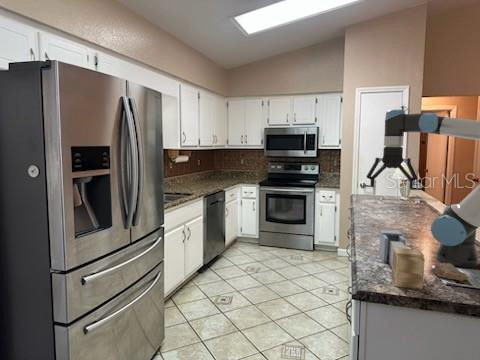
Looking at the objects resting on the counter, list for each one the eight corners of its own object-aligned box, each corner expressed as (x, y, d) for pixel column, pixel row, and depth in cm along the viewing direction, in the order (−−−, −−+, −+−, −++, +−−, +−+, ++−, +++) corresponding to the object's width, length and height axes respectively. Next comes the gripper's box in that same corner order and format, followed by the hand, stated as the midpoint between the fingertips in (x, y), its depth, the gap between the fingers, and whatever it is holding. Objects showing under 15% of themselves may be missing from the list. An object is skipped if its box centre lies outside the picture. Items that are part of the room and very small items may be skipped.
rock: (429, 275, 125) (455, 280, 116) (430, 259, 126) (456, 263, 117) (444, 277, 129) (471, 282, 120) (444, 262, 130) (471, 266, 121)
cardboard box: (416, 280, 120) (418, 249, 119) (422, 288, 113) (424, 256, 112) (391, 278, 122) (393, 247, 121) (396, 286, 115) (397, 254, 114)
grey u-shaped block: (397, 254, 148) (399, 230, 146) (403, 263, 137) (405, 237, 136) (379, 253, 149) (380, 229, 148) (383, 262, 138) (385, 236, 137)
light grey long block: (400, 263, 136) (402, 241, 135) (412, 281, 118) (414, 256, 117) (388, 262, 137) (389, 241, 136) (398, 279, 119) (400, 255, 118)
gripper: (422, 146, 143) (419, 195, 146) (361, 146, 149) (359, 192, 151) (428, 146, 136) (424, 197, 138) (363, 146, 142) (361, 195, 144)
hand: (390, 195), depth 145 cm, fingers open, 13 cm apart
